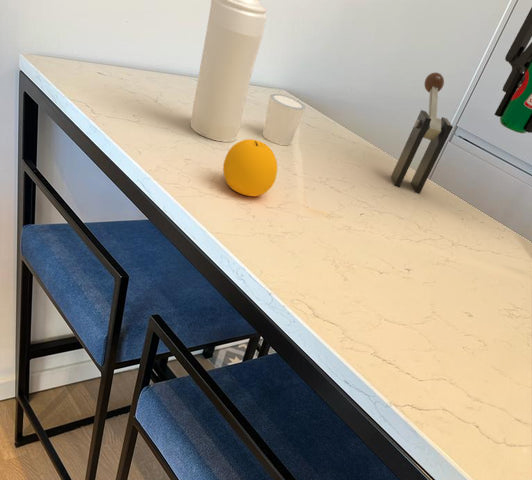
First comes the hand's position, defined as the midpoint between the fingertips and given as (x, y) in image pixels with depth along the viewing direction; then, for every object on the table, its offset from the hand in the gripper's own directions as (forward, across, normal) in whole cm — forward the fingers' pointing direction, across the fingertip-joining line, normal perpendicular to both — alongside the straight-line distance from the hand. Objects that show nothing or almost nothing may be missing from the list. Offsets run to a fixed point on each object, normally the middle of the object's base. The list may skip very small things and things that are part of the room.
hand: (515, 123), depth 91 cm
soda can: (+1, 0, 0) cm, 1 cm away
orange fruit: (+18, -17, -38) cm, 45 cm away
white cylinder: (+18, -34, -15) cm, 41 cm away
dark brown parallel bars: (+18, -12, -2) cm, 22 cm away
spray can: (+18, -36, -29) cm, 50 cm away
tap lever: (+5, -16, +1) cm, 17 cm away
